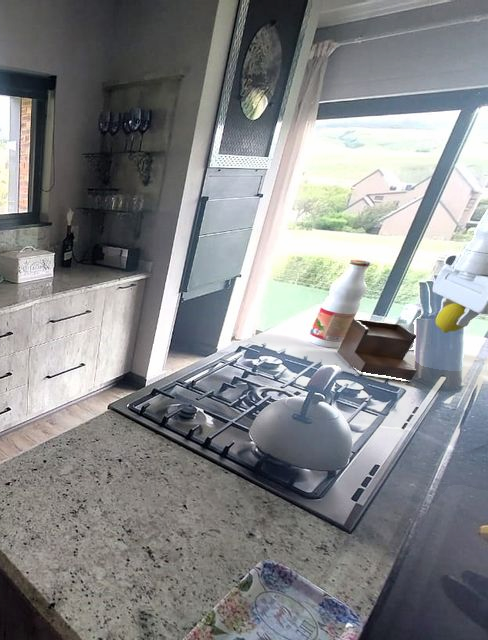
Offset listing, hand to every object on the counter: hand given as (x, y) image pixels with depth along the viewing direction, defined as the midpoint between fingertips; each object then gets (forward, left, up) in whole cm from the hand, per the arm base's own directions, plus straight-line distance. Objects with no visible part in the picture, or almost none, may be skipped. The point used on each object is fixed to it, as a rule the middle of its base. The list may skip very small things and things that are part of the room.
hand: (451, 320), depth 100 cm
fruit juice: (+11, -32, -21) cm, 40 cm away
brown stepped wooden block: (+3, -16, -21) cm, 27 cm away
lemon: (0, 0, -3) cm, 3 cm away
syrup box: (-13, -39, -21) cm, 46 cm away
